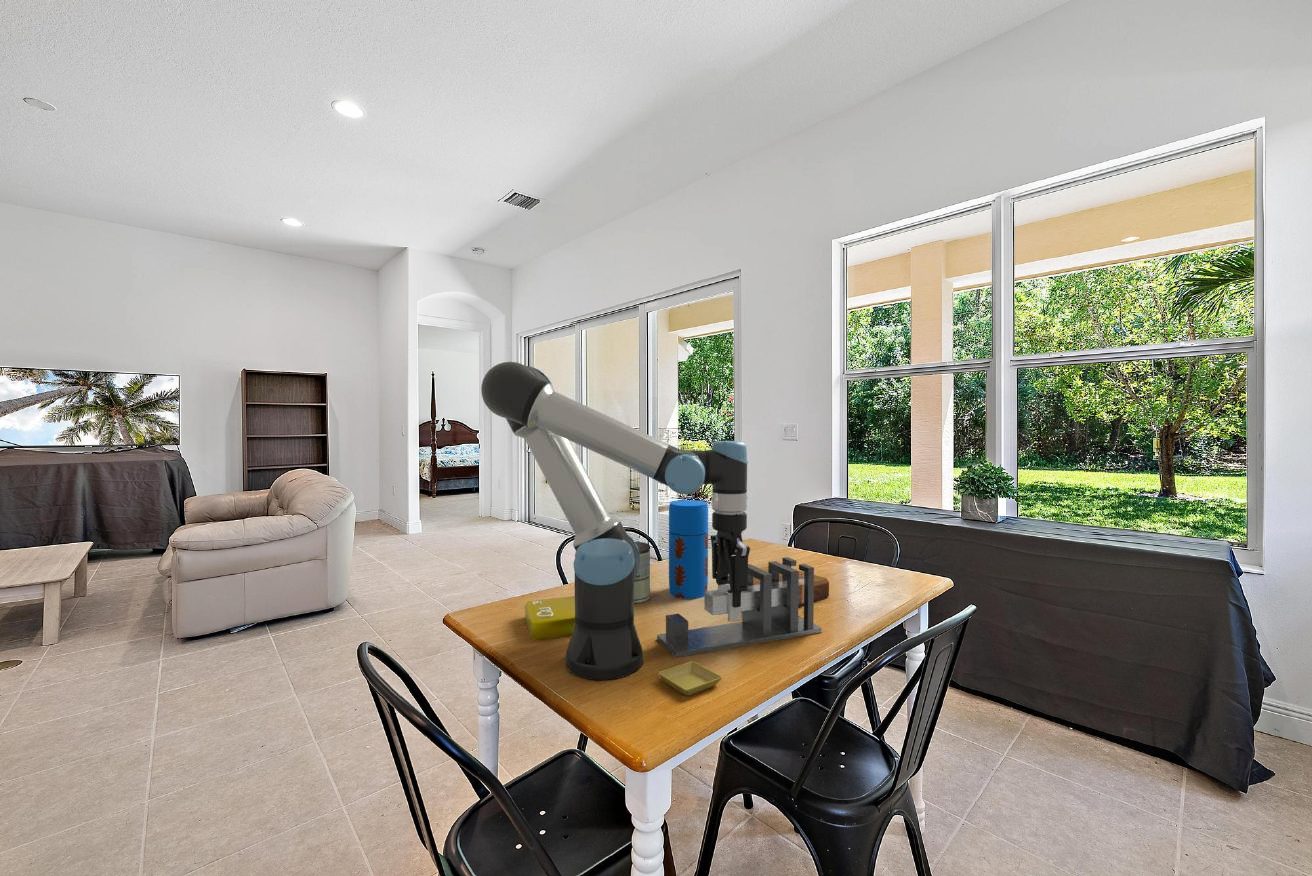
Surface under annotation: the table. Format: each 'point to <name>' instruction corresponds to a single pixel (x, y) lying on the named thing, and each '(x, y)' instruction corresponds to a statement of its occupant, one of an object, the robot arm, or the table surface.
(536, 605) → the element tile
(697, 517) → the thermos
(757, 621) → the grey slotted frame stand
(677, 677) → the saucer
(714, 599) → the light grey square rod
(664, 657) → the table surface
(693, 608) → the table surface
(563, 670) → the table surface
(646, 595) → the coffee can
